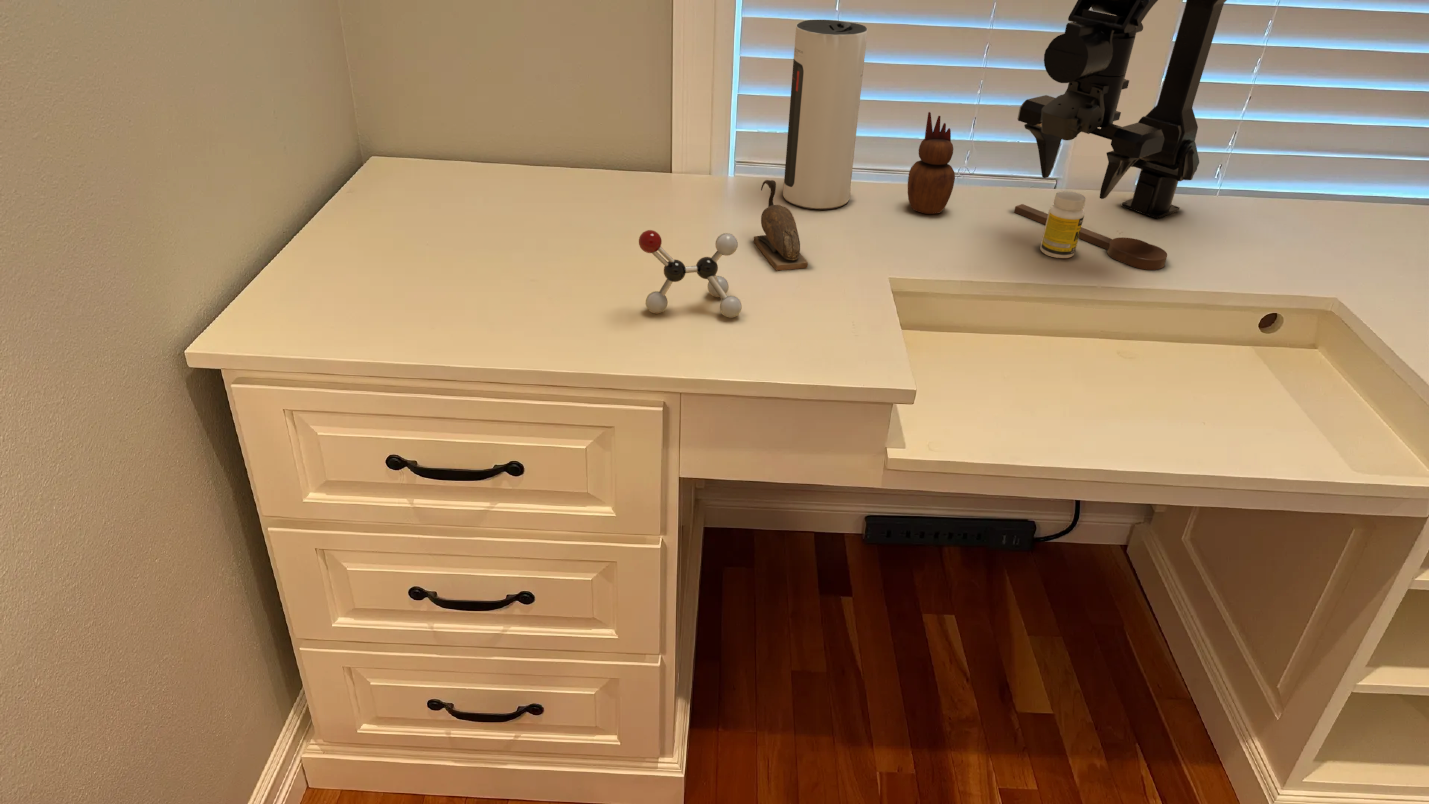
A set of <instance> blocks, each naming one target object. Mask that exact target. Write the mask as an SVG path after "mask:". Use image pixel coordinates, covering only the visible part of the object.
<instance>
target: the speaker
mask: <svg viewBox="0 0 1429 804" xmlns="http://www.w3.org/2000/svg"><path fill="white" fill-rule="evenodd" d="M868 30H869V29H868V27H867V26H865V25H863V24H861V23H856V22H852V21H846V20H845V21H844V20H837V19H807V20H803V21H800V22H798V23H796V25H795V35H794V36H795V37H794V49H793V58H792V59H793V61H792V75H791V88H790V98H789V99H790V101H789V114H788V127H787V140H786V152H785V153H786V154H785V166H784V178H783V190H782V191H783V192H782V196H783V198H784V200H785V201H786V202H787V203H789V204H791V205H794V206H797V207H800V208H804V209H808V210H809V209H810V210H834V209H837V208H838V209H839V208H840V207H843V206H845V205H847V203H848V202H849V200H850V198H851V189H852V188H851V187H852V179H853V168H854V160H855V159H854V158H855V148H856V141H857V140H856V139H857V129H858V121H859V113H860V112H859V111H860V103H861V93H862V85H863V78H864V77H863V76H864V66H865V56H866V50H867V49H866V48H867V39H868Z"/></svg>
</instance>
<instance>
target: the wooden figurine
mask: <svg viewBox="0 0 1429 804" xmlns="http://www.w3.org/2000/svg"><path fill="white" fill-rule="evenodd" d="M926 119H927V120H926V125H925V132H924V138H923V139H922V140H921V142H920V144H919V147H918V158H919V159H920V160H917V161H915V162H914V164H912V165H911V166H910V169H909V172H908V177H907V199H908V203H909V206H910V207H911V209H912V210H914V211H915V212H917V213H921V214H926V215H935V214H940V213H941V212H943V211H944V209H945V208H946V206H947V205H948V202H949V200H950V198H951V195H952V192H953V189H954V185H955V180H956V172H955V170H954V169H953V167H952V165H950V164H949V163H950V162H951V161H952V158H953V155H954V145H953V143H952V139H951V138H952V134H951V133H952V132H951V131H952V130H951V128H950V127H949V128H947V123H946V122H944V123H943V124H942V126H941V115H938V116H937V118H936V122H935V125H934V127H933V121H932V113H931V111H928V112H927V118H926Z"/></svg>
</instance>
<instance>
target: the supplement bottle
mask: <svg viewBox="0 0 1429 804" xmlns="http://www.w3.org/2000/svg"><path fill="white" fill-rule="evenodd" d="M1086 199H1087V197H1086V196H1085V195H1084V194H1082V193H1081V192H1076V191H1073V190H1060V191H1057V192H1056V193H1055V195H1054V199H1053V205H1051V206H1049V209H1048V212H1047V214H1048V217H1047V221H1046V225H1045V224H1044V230H1043V235H1042V239H1041V242H1040V247H1039V249H1040V251H1041V252H1042V253H1043V254H1044V255H1045V256H1049V257H1051V258H1055V259H1056V258H1057V259H1070V258H1072V257H1073V256H1074V255H1075V253H1076V250H1077V246H1078V241H1079V239H1080V238H1079V234H1080V230H1081V227H1082V226H1083V222H1084V219H1085V211H1084V210H1083V209H1084V207H1085V205H1086V204H1085V203H1086Z"/></svg>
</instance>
